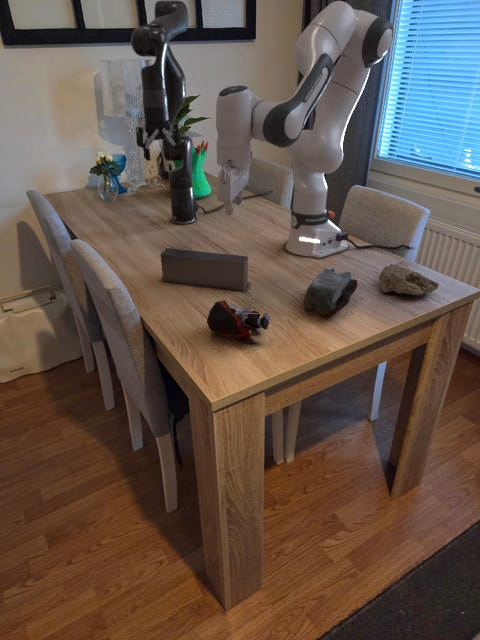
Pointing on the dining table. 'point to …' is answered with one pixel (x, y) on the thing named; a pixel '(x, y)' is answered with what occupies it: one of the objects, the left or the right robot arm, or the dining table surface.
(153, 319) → the dining table surface
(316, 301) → the dark grey rock
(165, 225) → the dining table surface
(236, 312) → the toy
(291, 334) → the dining table surface
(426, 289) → the artifact
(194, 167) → the toy
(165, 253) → the bar
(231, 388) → the dining table surface
